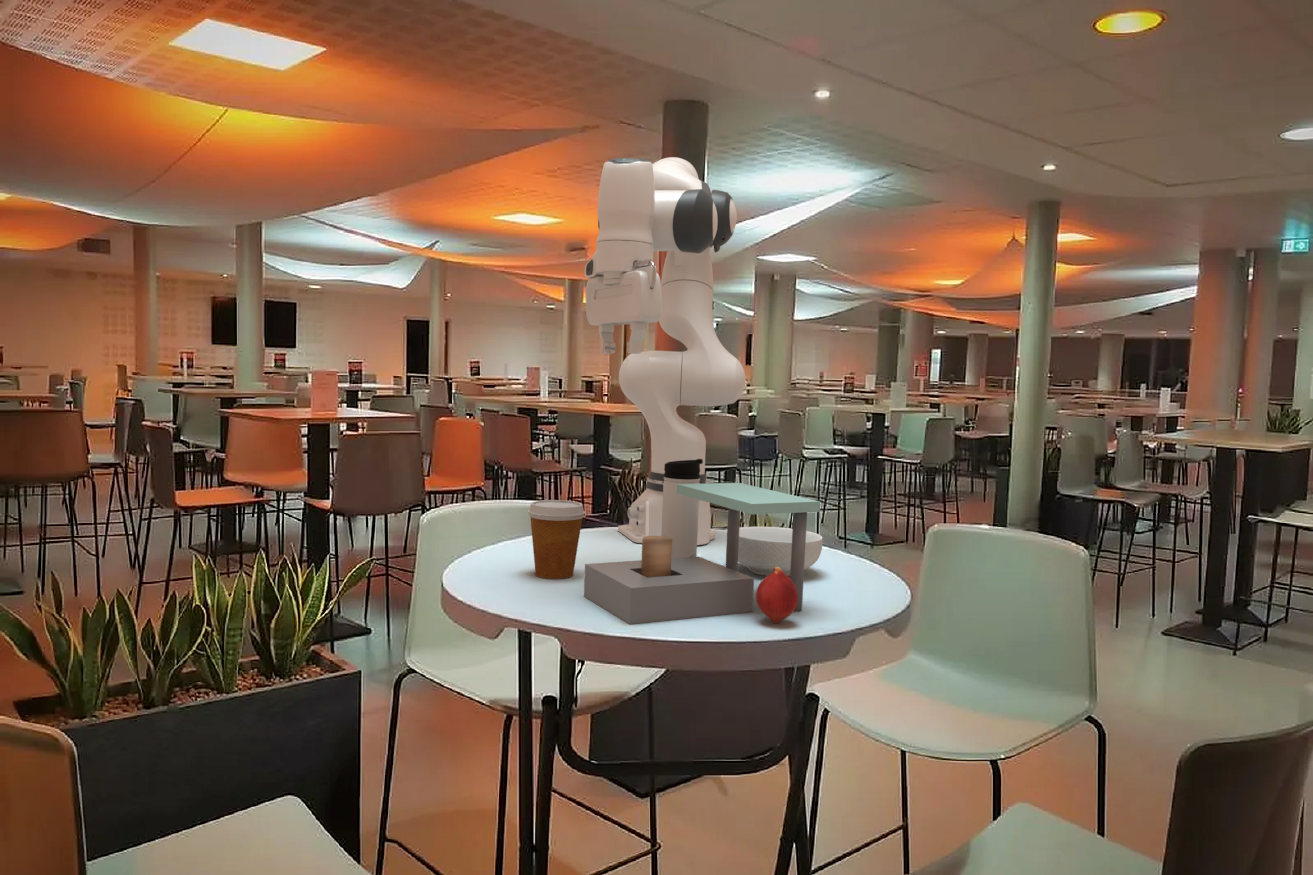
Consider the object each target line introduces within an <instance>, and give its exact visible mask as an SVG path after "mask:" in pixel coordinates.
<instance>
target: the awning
mask: <svg viewBox="0 0 1313 875" xmlns="http://www.w3.org/2000/svg"><path fill="white" fill-rule="evenodd" d="M677 494H681V495H684V496H688V497H691V498H695V499H698V500H702V501H705V502H709V503H710V504H713V505H716V506H721V507H724V508H727V510H728V513H727V526H726V527H727V529H726V530H727V531H726V549H725V550H726V552H725V567H727V568H729V569H732V570H734V571H737V572H738V565H739V564H738V563H739V562H738V548H739V528H740V527H741V512H742V513H745V514H748V515H772V514H776V515H777V514H793V515H792V529H793V532H792V550H791V569H790V576H789V578H790V579H791V580H792V581H793V583H794V584H795V586H796V589H797V593H798V602H797V606H796V608H795V610H794V611H793V612H802V610H803V597H804V596H803V595H804V592H803V591H804V579H805V569H804V562H805V544H806V531H807V522H808V513H819V512H820V510H821V501H820V500H817V499H816V500H814V499H810V498H808V497H807V498H806V497H803V496H798V495H794V494H790V493H785V492H781V491H777V490H772V489H768V488H762V487H758V486H754V485H750V484H745V483H741V482H721V483H720V482H718V483H717V482H716V483H712V482H711V483H708V482H707V484H677Z"/></svg>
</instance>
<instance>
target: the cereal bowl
mask: <svg viewBox="0 0 1313 875" xmlns="http://www.w3.org/2000/svg"><path fill="white" fill-rule="evenodd" d="M792 532H793V528H788V527H778V526H742V527H741V526H740V528H739V548H738V563H739V564H741V565H742V566H744V567H747V568H748V569H749V570H750V572H752V573H754V574H756V575H760V576H765V577H767V576H768V575H770V574H772V573H773V571H774V570H773V568H775V567H779V568H780V569H781V570H782V571H783V572H784V573H785V574H786V575H787V576H788V577H790V569H791V550H792ZM823 541H824V540H823V536H822V535H821V534H819V533H816V532H813V531H808V530H806V544H805V562H804V570H806V569H809V568H810V567H812V566H813V565H814V564H815V563H816V562H818V560H819V558H820V556H821V553H822V550H823Z"/></svg>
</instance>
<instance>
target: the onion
mask: <svg viewBox="0 0 1313 875" xmlns="http://www.w3.org/2000/svg"><path fill="white" fill-rule="evenodd" d="M773 570H774V571H773V573H772V574H770V575H768V576H765V577H764V578H763V579H762V580H760V581H761V582H760V583H759V584H758V585H757V589H756V593H755V599H756V605H757V606H758V609H760V611H761V612H762V613H763V614H764V615H765V616H766V617H767V618H768V619H769V620H770V621H771V622H772V623H773V624H778V623H780V622H782V621H783V620H785V619H786V618H788V617H789V616H790V615H791V614H793V612H795V611H794V610H795V608H796V606H797V602H798V593H797V589H796V586H795V584H794V583H793V581H792V580H791V579H790V576H787V575H786V574H785V573H784V572H783V571H782V570H781V569H780V568H779V567H775V568H773Z"/></svg>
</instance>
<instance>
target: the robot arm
mask: <svg viewBox="0 0 1313 875" xmlns="http://www.w3.org/2000/svg"><path fill="white" fill-rule="evenodd" d="M602 166H603V167H602V170H601V175H600V180H599V181H600V182H599V188H598V195H597V196H598V201H597V227H598V234H597V237H596V241H595V242H596V246H595V252H594V253H593V255H592V256H591V259H589V261H587V263H586V264H585V266H584V277H585V278H586V279H587V278H588V280H587V282H586V287H585V311H586V312H585V314H586V316H585V317H586V319H587V320H586V321H587V322H588V324H589V325H590V326H598V334H599V339H600V342H601V353H602V354H605V355H613V354H615V353H616V342H614V336H613V335H614V334H613V333H614V332H615V326H622V325H630V326H629V330H630V337H629V341H626V342H627V343H626V347H627V348H626V352H627V353H628V355H627V356H626V358H625V359H623V361H622V364H621V365H620V367H619V373H618V383H619V387H620V390H621V391H622V393H623V395H624V396H625V397H626V399H628V400H629V401H630V402H632V403H633V404H634V405H635V406H636V408H638V410H639V411H640V412H641V414H642V415H643V417H644V418H645V421H646V424H647V426H648V429H649V433H650V444H651V446H650V449H651V464H650V465H651V467H650V471H649V472H647V473H646V475H647V477H645V479H646V484H645V487H646V488H645V490H644V491H643V492H642V493H641V494H640V495H639V497H637V498H636V499H635V501H633V502H632V503H631V505H630V507H628V508H627V517H628V520H629V522H628V523H626V524H622V525H618V527H617V531H618V532H619V533H621V534H622V535H623V536H625V537H626V538H627V539H629V540H630V541H632V542H633V543H639V544H642V539H643V537H645V536H661V528H662V505H663V482H664V473H665V471H664V466H665V463H667V462H672V461H682V460H697V459H702V460H703V463H702V464H700V473H699V474H700V481H699V482H700V484H707V483H708V481H707V480H708V479H707V474H706V472H705V471H706V453H707V452H706V451H707V450H706V448H707V440H706V437H705V434H704V433H703V431H702V430H701V429H699V428H698V427H697V426H695V425H694V424H692V423H690V422H689V421H686V420H684V419H683V418H682V417H681V416H680V415H679V414H678V412H677V408H678V407H679V406H695V407H718V406H719V407H720V406H724V405H725V406H726V405H732V404H735V403H736V402H737V401H738V400H739V399H740V397H741V396H742V395H743V392H744V390H745V387H746V374H745V373H746V372H745V369H744V367H743V365H742V363H741V362H740V361H739V359H737V357H735V356H734V355H733V354H731V353H730V352H729V351H728V350H727V349H726V348H725V347H724V345H723V344H722V343H721V341H720V340H719V339H720V338H719V337H718V336H717V333H716V330H715V326H714V316H713V315H714V313H713V312H714V311H713V302H714V301H713V300H714V299H713V296H714V273H713V271H714V270H713V265H712V257H711V253H710V252H711V251H710V250H711V248H712V247H713V250H714V253H715V254H716V253H718V252H719V251H720V249H721V247H722V246H723V245H726V244H727V243H728V242H729V240H731V238H732V236H733V234H734V231H735V228H736V225H737V221H738V212H737V208H736V204H735V202H734V200H733V196H732V195H730V193H729V192H728V191H727V192H726V191H723V190H717V189H712V190H711V188H710V186H709V184H708V183H707V182H705V181H703V180H700V179H699V175H698V172H697V170H696V168H695V167H694V165H693V164H692V163H691V162H689V161H688V160H686V159H683V158H681V157H677V156H675V157H674V156H672V157H671V156H670V157H665V158H662V159H660V160H656V161H655V162H653V163H652V162H651V161H650V160H648V159H646V158H639V157H638V158H634V157H627V158H624V157H623V158H621V157H620V158H619V157H617V158H616V157H615V158H611V159H608V160H607V161H605V162H604V163H603V165H602ZM654 252H666V256H665V259H664V265H663V268H662V273H661V278H660V275H659V273H658V272H657V266H656V265H655V263H654ZM658 322H659V325H660V327H661V329H662V330H663V331H664V332H665V334H667V335H668V336H670V337H671V338H673V339H675V340H677V341H679V342H680V343H681V344H682V345H684V346H685V348H686V349H687V350H683V351H678V350H677V351H674V350H673V351H671V350H653V349H652V350H647V351H642V350H643V349H642V348H643V347H642V346H643V341H644V338H645V335H646V334H647V331H648V329H647V326H648V324H650V323H658ZM710 505H711V503H709V502H705V501H702V500H699V512H698V534H697V546H701V545H706V544H709V543H710V542H711V541H712V540H715V539H716V535H715V533H714V532H712V531H711V529H712V528H711V506H710Z"/></svg>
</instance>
